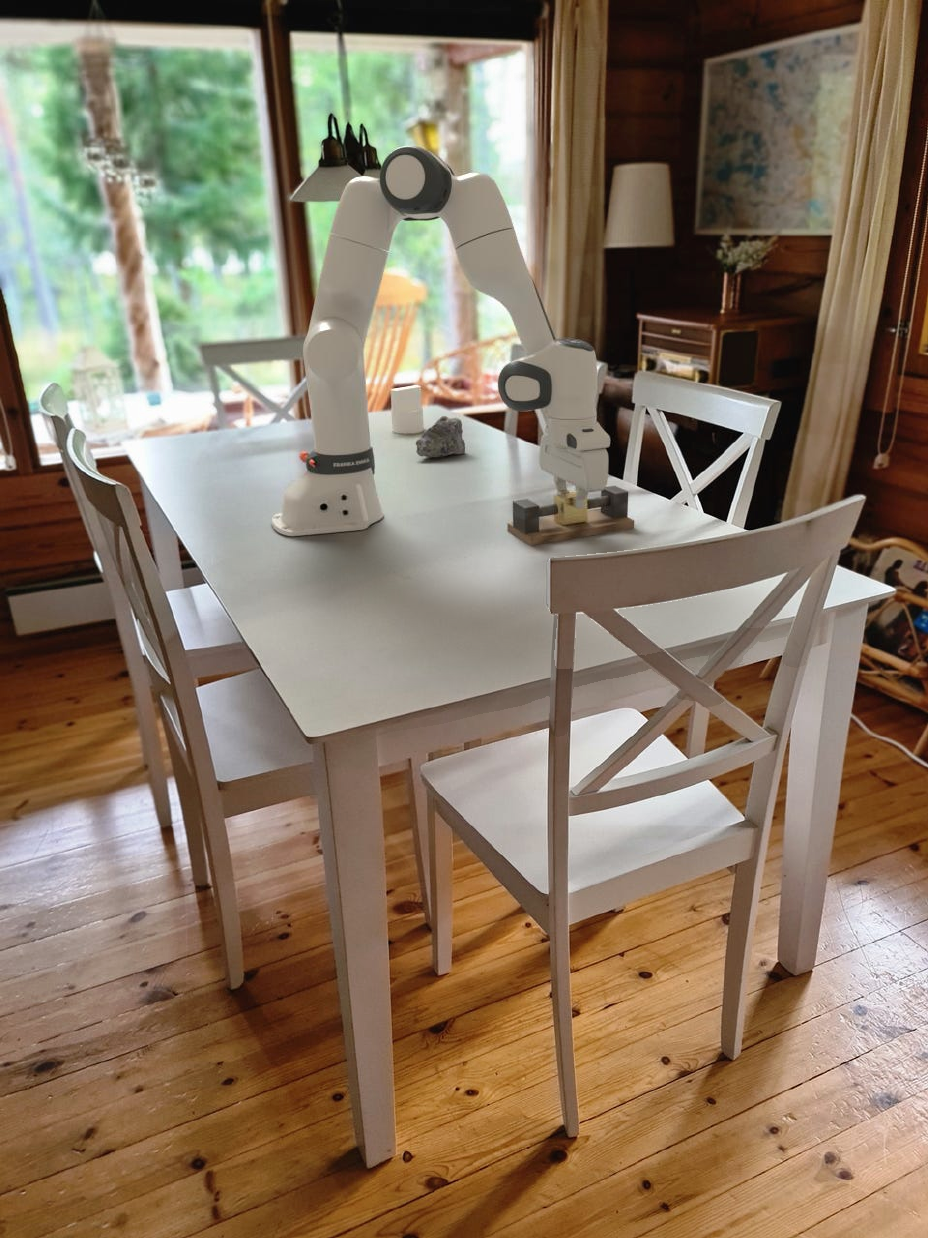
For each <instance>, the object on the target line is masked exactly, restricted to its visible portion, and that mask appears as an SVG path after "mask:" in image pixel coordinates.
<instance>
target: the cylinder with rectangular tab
mask: <svg viewBox="0 0 928 1238" xmlns="http://www.w3.org/2000/svg"><path fill="white" fill-rule="evenodd" d="M390 399H391V402H390V403H391V412H390V413H391V426H392V427H391V429H392V432H393V431H395V432H398V433H397V434H399V433H412V434H418V433H421V431H422V432H424V431H425V427H424V426H425V424H424V409H423V402H422V401H423V399H422V386H421V385H416V384H414V385H410V386H409V385H408V386H403V387H398V388H397V387H396V388H390ZM417 432H418V433H417Z"/></svg>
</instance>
